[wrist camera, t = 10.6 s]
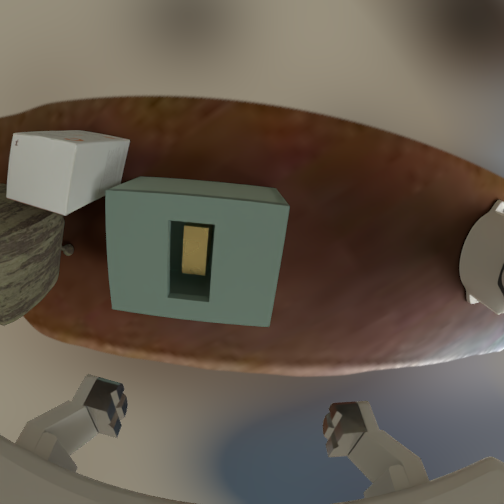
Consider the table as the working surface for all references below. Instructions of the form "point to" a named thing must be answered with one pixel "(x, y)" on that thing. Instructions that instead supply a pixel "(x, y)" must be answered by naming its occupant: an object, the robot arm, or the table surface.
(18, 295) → the tabletop clock
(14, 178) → the small box
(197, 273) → the wooden yellow block
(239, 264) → the coin box
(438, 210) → the table surface
